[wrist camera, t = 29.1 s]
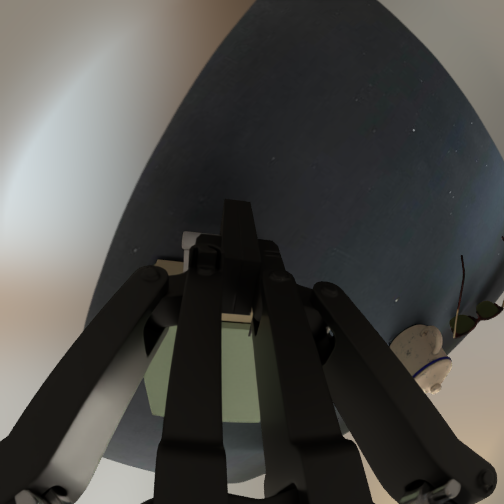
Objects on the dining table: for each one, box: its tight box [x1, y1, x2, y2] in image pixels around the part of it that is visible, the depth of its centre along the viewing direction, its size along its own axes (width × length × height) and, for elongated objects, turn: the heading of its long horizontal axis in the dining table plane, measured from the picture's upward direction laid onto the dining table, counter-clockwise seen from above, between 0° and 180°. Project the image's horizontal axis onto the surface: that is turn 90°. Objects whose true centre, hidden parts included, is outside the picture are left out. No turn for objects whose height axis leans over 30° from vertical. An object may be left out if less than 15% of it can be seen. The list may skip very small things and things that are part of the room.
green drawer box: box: [144, 264, 260, 422], centre depth 32 cm, size 19×15×9 cm
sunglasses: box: [450, 236, 504, 339], centre depth 35 cm, size 14×15×5 cm
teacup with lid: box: [390, 324, 452, 394], centre depth 36 cm, size 12×9×12 cm
